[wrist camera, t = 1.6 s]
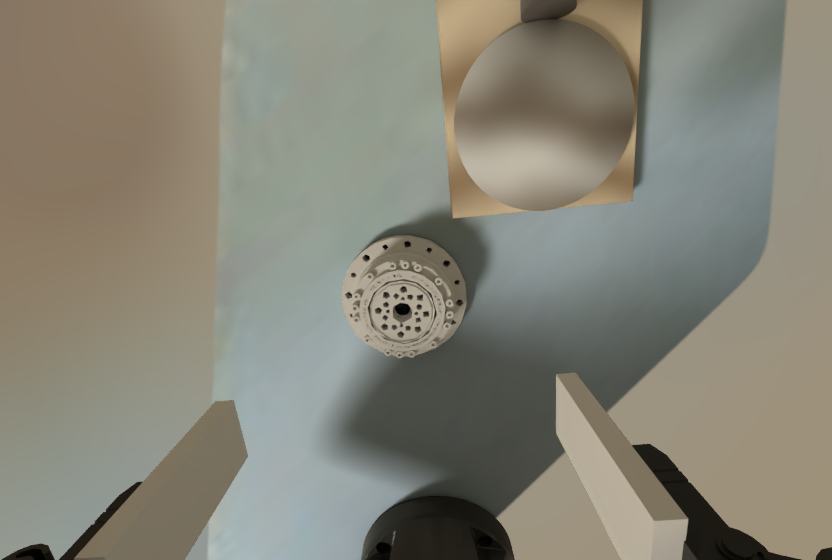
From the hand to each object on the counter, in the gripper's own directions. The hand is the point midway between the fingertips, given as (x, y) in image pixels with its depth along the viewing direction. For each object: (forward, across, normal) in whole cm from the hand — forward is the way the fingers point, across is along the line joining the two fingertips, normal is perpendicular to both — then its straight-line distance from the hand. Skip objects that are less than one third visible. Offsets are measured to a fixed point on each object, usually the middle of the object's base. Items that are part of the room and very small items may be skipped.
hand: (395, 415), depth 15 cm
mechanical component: (+17, 0, 0) cm, 17 cm away
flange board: (+16, -10, -14) cm, 24 cm away
